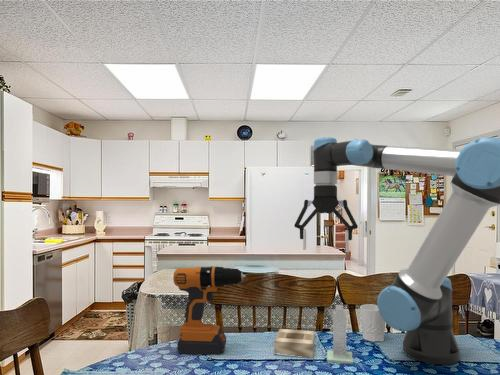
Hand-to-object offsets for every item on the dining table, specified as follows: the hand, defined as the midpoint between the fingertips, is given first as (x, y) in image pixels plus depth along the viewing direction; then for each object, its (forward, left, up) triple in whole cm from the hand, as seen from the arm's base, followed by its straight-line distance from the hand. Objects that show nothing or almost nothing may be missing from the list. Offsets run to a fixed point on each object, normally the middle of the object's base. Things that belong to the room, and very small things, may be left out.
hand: (325, 250), depth 124 cm
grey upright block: (-4, +14, -28) cm, 32 cm away
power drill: (+34, +17, -29) cm, 48 cm away
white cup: (-15, -4, -29) cm, 33 cm away
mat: (-4, +14, -29) cm, 32 cm away
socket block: (+9, +11, -29) cm, 32 cm away
